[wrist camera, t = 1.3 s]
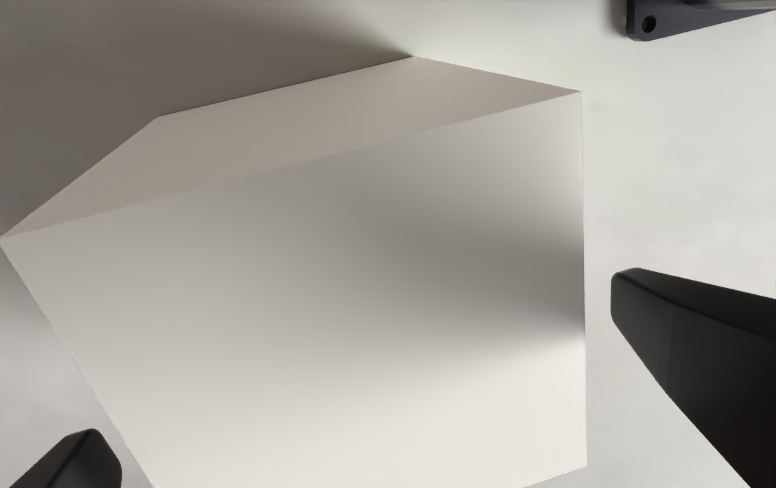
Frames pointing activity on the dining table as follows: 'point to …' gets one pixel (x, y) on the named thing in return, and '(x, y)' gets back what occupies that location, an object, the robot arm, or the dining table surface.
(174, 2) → the dining table surface
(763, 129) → the dining table surface
